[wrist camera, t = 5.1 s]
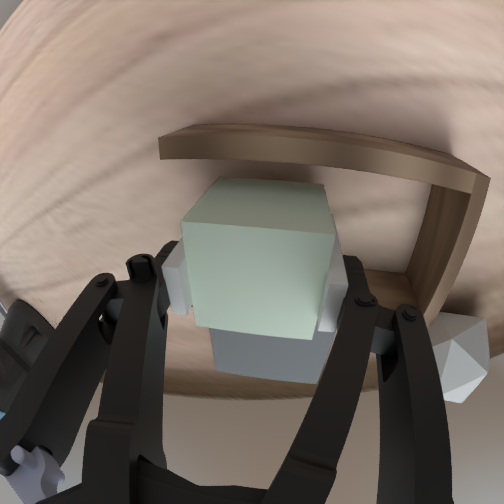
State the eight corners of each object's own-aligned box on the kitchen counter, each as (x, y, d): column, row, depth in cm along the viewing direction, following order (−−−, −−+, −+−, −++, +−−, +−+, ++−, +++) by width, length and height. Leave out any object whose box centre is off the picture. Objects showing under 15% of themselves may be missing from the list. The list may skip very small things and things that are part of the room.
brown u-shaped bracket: (204, 265, 23) (182, 305, 19) (193, 124, 17) (158, 137, 13) (413, 286, 20) (429, 328, 16) (452, 155, 14) (490, 178, 10)
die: (385, 335, 25) (406, 421, 20) (435, 310, 17) (461, 425, 12) (440, 311, 26) (460, 388, 21) (490, 283, 18) (514, 378, 13)
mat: (217, 367, 31) (216, 370, 31) (207, 294, 25) (205, 298, 24) (316, 379, 30) (316, 383, 29) (340, 309, 23) (341, 314, 22)
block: (223, 261, 19) (196, 325, 14) (219, 176, 16) (180, 221, 11) (311, 270, 18) (311, 339, 13) (323, 184, 15) (335, 235, 10)
